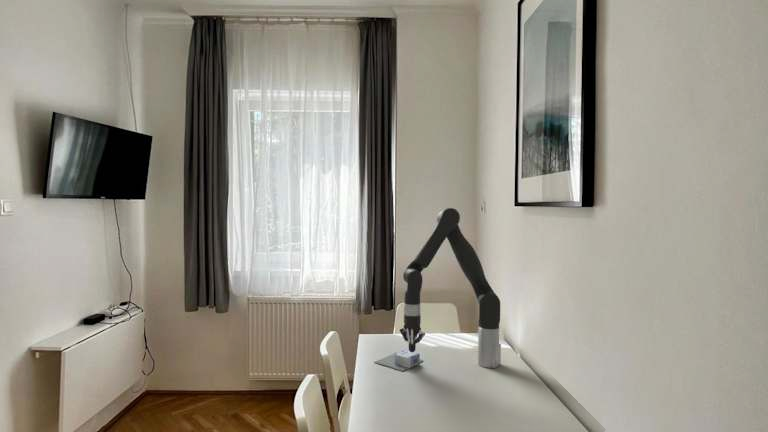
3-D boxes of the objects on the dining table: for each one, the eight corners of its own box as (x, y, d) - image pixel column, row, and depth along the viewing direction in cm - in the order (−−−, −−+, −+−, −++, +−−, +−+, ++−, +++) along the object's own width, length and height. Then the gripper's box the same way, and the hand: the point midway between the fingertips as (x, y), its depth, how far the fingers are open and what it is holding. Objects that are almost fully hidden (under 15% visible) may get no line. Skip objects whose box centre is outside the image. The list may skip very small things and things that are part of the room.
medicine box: (410, 358, 180) (394, 354, 186) (410, 368, 180) (394, 363, 186) (420, 353, 187) (404, 349, 192) (419, 363, 187) (404, 359, 192)
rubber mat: (423, 361, 190) (423, 360, 190) (402, 371, 178) (402, 370, 178) (396, 353, 201) (396, 352, 201) (374, 362, 188) (374, 361, 188)
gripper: (429, 314, 183) (429, 352, 183) (405, 309, 191) (405, 346, 192) (419, 317, 177) (419, 357, 177) (395, 312, 186) (395, 350, 186)
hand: (412, 351), depth 185 cm, fingers closed
